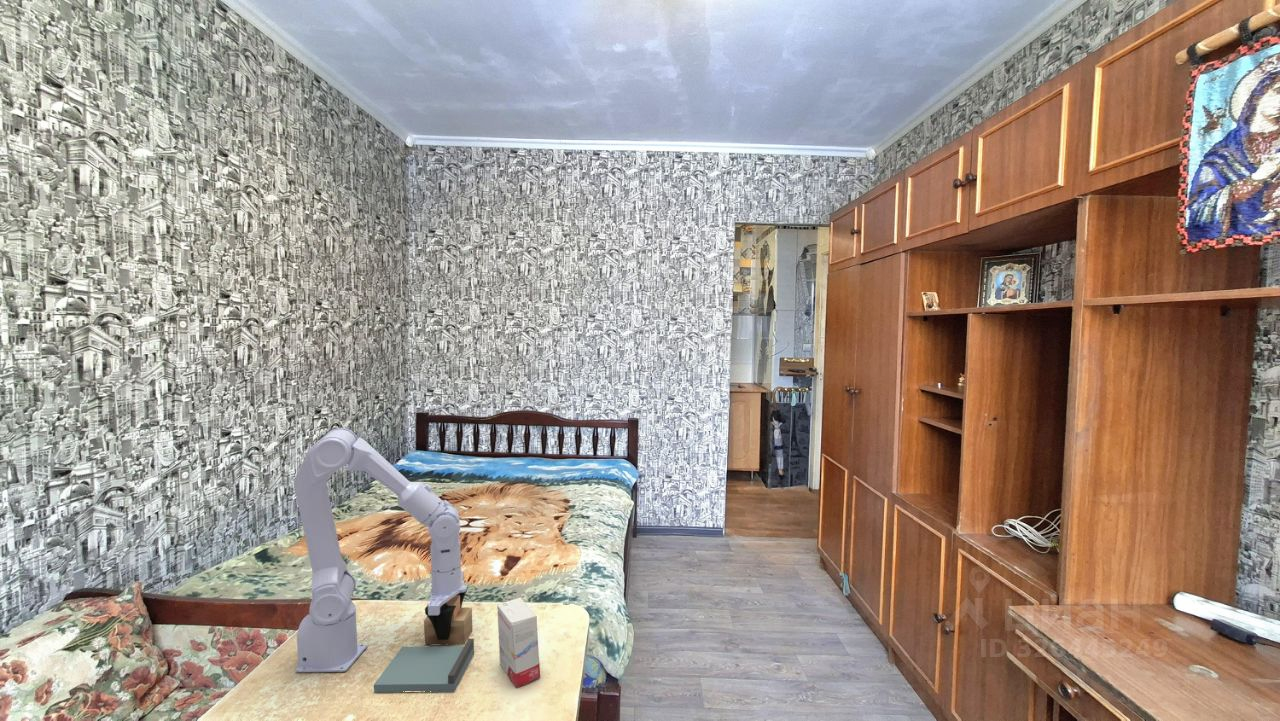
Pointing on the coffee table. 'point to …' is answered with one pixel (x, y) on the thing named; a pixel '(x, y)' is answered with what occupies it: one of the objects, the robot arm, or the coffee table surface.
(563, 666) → the coffee table surface
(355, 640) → the robot arm
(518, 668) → the ink box
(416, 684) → the dock
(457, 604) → the carton
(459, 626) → the tan rectangular block
